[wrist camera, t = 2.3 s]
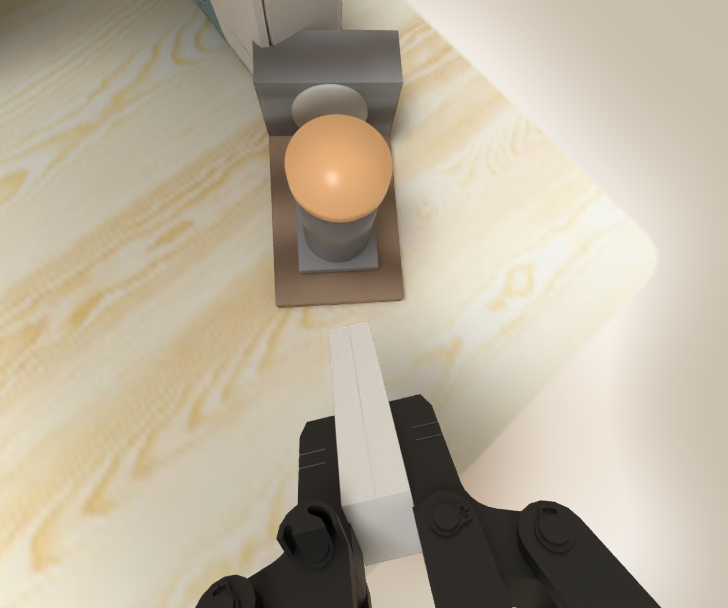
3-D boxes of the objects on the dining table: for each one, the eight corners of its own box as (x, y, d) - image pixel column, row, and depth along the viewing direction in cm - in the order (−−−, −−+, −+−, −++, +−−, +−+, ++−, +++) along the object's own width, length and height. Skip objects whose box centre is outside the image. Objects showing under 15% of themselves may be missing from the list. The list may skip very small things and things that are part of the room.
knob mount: (400, 300, 31) (421, 282, 24) (278, 307, 30) (261, 291, 23) (383, 102, 33) (398, 30, 26) (270, 103, 32) (251, 29, 25)
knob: (377, 269, 29) (403, 218, 18) (300, 273, 29) (280, 223, 18) (371, 197, 30) (393, 108, 19) (296, 200, 30) (275, 109, 19)
